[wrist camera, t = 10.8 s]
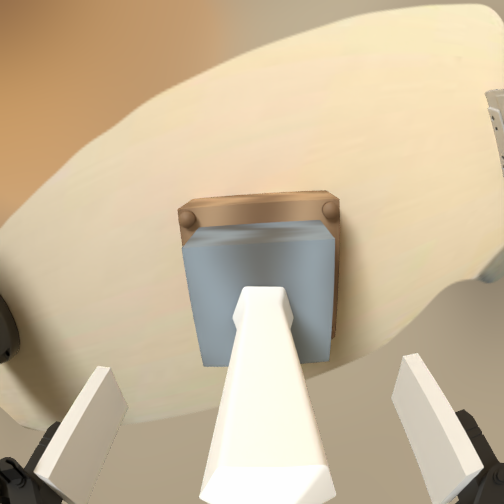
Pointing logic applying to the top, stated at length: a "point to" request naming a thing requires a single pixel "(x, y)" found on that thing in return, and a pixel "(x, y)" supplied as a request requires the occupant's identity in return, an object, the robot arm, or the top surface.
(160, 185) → the top surface
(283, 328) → the perfume bottle
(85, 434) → the robot arm
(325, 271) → the blue block on board
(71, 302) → the top surface
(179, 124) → the top surface
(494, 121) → the cassette
